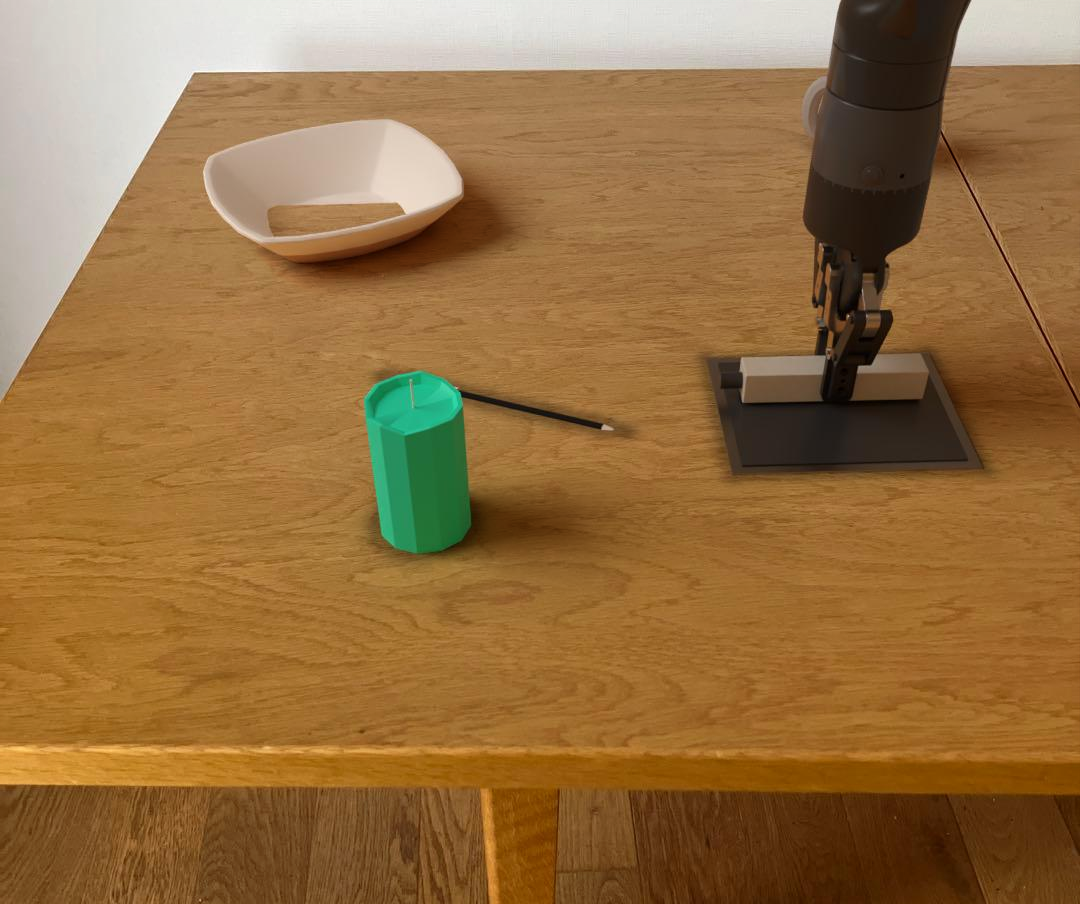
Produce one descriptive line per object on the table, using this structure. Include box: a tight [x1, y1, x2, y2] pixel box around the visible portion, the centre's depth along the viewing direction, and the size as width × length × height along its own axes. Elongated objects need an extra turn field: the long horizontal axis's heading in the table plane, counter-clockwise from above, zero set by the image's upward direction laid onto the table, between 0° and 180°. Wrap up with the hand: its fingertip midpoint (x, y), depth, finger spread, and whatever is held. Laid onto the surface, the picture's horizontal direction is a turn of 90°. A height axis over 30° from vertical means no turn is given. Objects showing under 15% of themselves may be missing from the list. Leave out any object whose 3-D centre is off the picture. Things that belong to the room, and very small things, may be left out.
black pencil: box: [454, 386, 615, 431], centre depth 87 cm, size 1×19×1 cm, turn 68°
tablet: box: [705, 352, 984, 476], centre depth 86 cm, size 17×14×1 cm
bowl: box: [202, 118, 465, 264], centre depth 108 cm, size 22×22×5 cm
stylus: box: [718, 352, 929, 403], centre depth 86 cm, size 15×2×2 cm, turn 91°
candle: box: [363, 370, 472, 555], centre depth 74 cm, size 6×6×12 cm
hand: (831, 386), depth 87 cm, fingers closed on stylus, 2 cm apart
